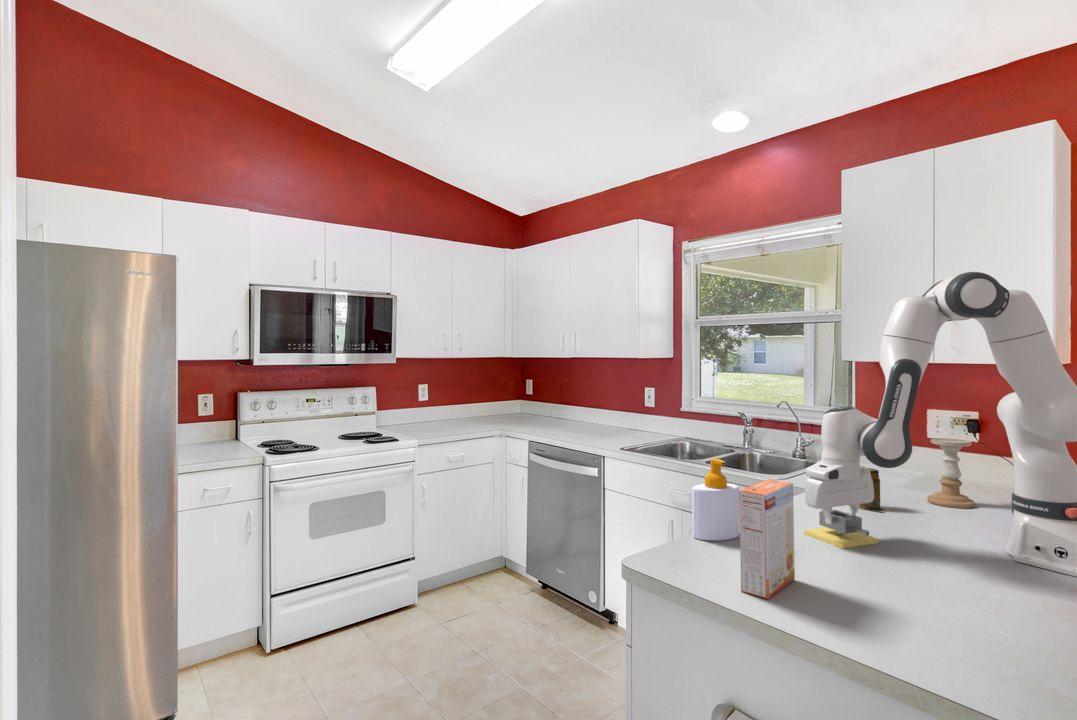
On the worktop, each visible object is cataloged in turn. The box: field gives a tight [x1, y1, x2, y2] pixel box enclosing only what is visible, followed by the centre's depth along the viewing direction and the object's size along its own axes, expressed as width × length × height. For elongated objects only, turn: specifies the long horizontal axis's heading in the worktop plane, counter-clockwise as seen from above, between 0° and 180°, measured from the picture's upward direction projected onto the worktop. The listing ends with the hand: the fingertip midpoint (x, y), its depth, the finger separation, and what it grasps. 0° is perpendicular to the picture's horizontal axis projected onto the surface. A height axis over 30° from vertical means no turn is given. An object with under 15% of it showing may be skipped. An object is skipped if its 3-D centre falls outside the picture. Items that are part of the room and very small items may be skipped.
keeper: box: [803, 516, 879, 549], centre depth 144 cm, size 12×12×6 cm
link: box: [818, 509, 870, 536], centre depth 142 cm, size 12×6×4 cm, turn 20°
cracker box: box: [739, 478, 796, 600], centre depth 115 cm, size 14×6×21 cm, turn 134°
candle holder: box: [926, 437, 976, 509], centre depth 176 cm, size 12×12×20 cm
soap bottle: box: [691, 458, 740, 542], centre depth 146 cm, size 13×8×20 cm, turn 105°
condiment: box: [859, 467, 892, 513], centre depth 172 cm, size 7×8×12 cm
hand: (840, 521), depth 144 cm, fingers closed on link, 6 cm apart
